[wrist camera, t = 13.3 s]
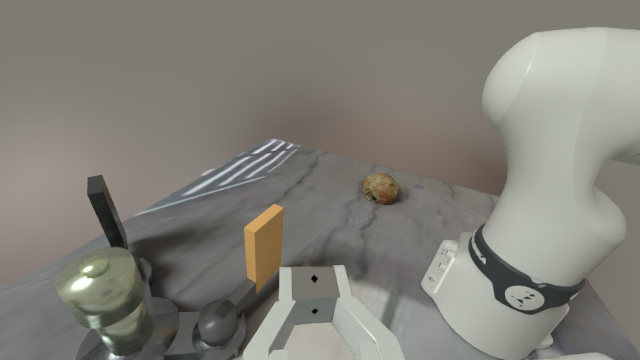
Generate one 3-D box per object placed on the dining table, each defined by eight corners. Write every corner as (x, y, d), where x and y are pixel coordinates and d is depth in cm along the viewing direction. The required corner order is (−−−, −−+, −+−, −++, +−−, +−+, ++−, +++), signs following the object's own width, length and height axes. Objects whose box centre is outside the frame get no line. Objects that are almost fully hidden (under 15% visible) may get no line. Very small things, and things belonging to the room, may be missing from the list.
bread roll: (355, 202, 68) (355, 186, 62) (370, 177, 73) (372, 159, 67) (388, 217, 64) (391, 201, 58) (402, 189, 69) (407, 171, 63)
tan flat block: (218, 354, 28) (205, 291, 22) (192, 333, 30) (173, 269, 23) (287, 269, 39) (291, 211, 33) (266, 257, 41) (266, 200, 35)
